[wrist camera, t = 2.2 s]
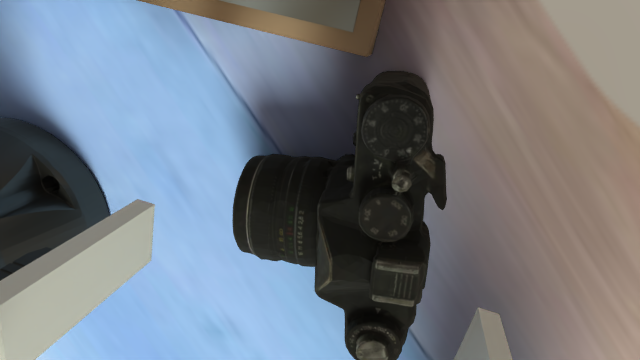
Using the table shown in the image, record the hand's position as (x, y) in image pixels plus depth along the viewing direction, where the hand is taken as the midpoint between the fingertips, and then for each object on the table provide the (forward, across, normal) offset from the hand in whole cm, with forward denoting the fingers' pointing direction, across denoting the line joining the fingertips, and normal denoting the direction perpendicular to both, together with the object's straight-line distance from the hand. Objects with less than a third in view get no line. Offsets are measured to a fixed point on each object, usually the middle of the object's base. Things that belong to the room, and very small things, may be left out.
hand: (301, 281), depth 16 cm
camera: (+12, 0, 0) cm, 12 cm away
